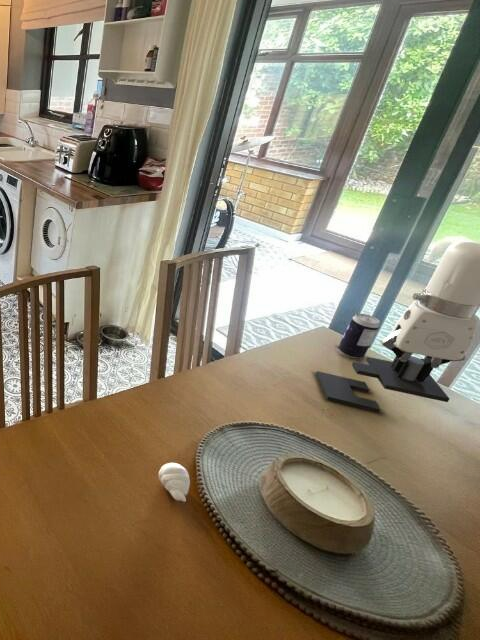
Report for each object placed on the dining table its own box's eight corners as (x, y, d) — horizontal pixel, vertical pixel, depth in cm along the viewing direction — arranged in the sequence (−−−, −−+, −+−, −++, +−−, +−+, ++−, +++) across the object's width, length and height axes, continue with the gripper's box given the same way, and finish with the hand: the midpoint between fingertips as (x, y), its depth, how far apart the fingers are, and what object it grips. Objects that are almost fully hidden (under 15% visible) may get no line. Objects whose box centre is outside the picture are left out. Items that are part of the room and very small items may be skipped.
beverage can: (360, 351, 117) (379, 316, 111) (365, 362, 112) (384, 327, 107) (335, 344, 119) (352, 310, 114) (338, 355, 115) (355, 320, 110)
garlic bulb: (163, 507, 77) (169, 488, 75) (154, 477, 82) (159, 459, 80) (193, 510, 76) (200, 492, 74) (183, 481, 82) (189, 462, 79)
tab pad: (422, 371, 91) (434, 351, 89) (447, 402, 83) (461, 381, 81) (346, 356, 96) (355, 337, 94) (362, 384, 88) (373, 364, 86)
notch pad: (363, 384, 105) (365, 382, 104) (379, 412, 97) (380, 409, 96) (315, 373, 109) (316, 370, 108) (326, 399, 100) (328, 396, 100)
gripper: (403, 304, 81) (365, 376, 89) (519, 322, 75) (468, 398, 83) (386, 287, 87) (352, 355, 95) (493, 302, 81) (447, 374, 89)
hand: (406, 374), depth 89 cm, fingers closed on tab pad, 2 cm apart
